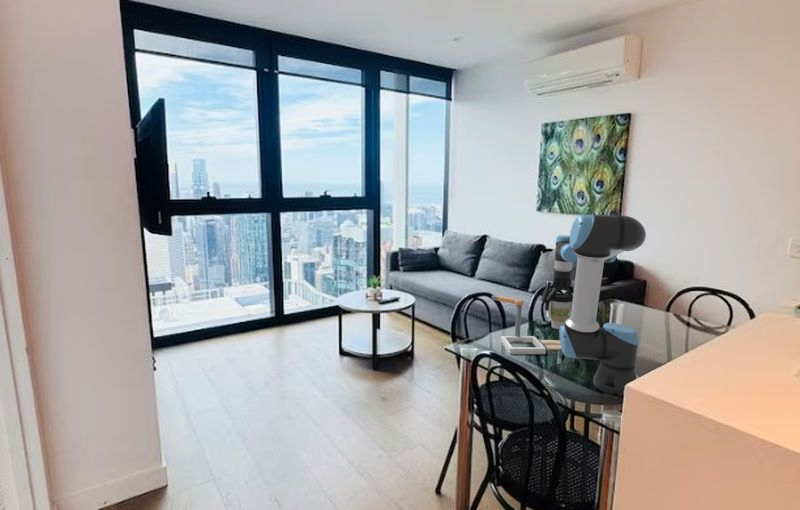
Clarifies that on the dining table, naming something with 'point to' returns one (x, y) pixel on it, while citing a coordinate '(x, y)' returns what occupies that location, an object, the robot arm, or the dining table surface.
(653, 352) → the dining table surface
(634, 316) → the dining table surface
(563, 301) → the coffee cup
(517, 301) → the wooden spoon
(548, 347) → the cork pad
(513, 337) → the white square frame
